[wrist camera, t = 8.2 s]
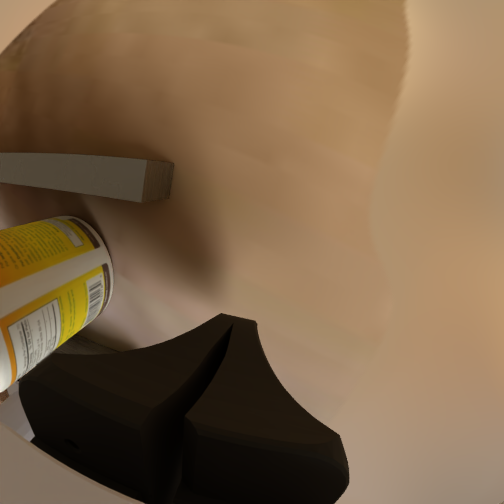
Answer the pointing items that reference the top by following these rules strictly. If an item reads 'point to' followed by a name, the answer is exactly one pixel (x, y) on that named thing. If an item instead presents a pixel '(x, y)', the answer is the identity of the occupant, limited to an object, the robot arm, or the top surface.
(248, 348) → the robot arm
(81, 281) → the supplement bottle
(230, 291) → the top surface
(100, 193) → the bay
